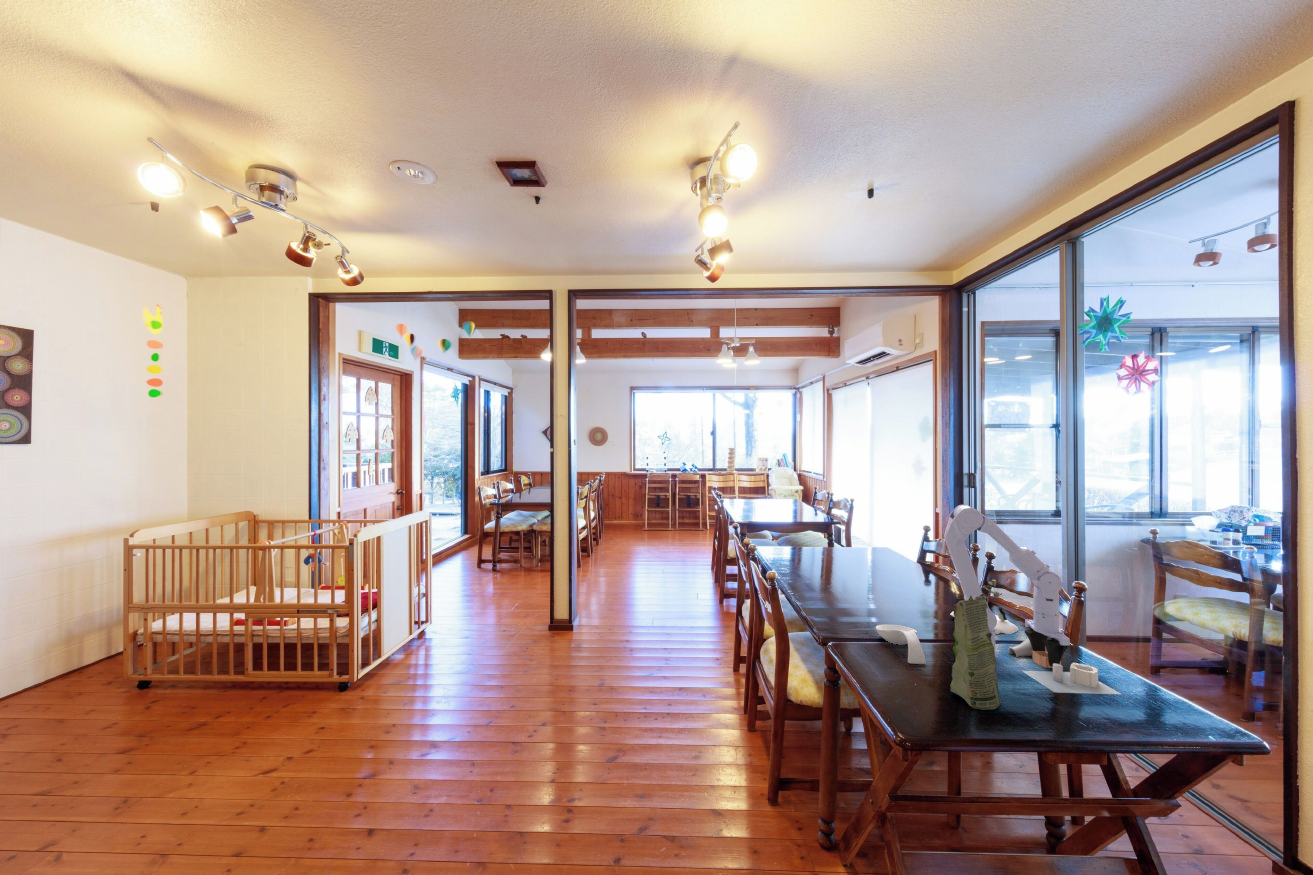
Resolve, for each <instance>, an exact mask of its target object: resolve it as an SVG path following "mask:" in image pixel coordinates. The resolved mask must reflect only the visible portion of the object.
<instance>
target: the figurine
mask: <svg viewBox="0 0 1313 875" xmlns="http://www.w3.org/2000/svg"><path fill="white" fill-rule="evenodd" d="M996 585H997V580H996V579H991V580H990V581H989V580H988V581H987V585H986V584H984V585H983V586H982V588H983V589H984V590H986V591H987V592H988V595H987V596H986V597H985V600H986V602H987V604H989V600H990V598H992V599H993V598H997V599H998V598H1000V597H1001V596H1002V595H1003V594H1002V593H1000V592H999V591H997V590H995V591H993V590H992V587H996ZM991 595H992V596H991ZM949 614H950V616H952V617H954V610H953V611H952V612H950V613H949ZM995 616H996V618H997V624H996V626H995V635H1000V634H1006V635H1012V634H1013V635H1014V633H1016V632H1018V631H1019V628H1018V626H1016V624H1014V623H1012V622H1010V621H1009V620H1008V619H1007V617H1006V612H1005V611H1004V610H1003V608H1002V607H998V611H997V614H995Z"/></svg>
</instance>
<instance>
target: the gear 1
mask: <svg viewBox="0 0 1313 875" xmlns="http://www.w3.org/2000/svg"><path fill="white" fill-rule="evenodd" d="M1032 653H1033V656H1032V662H1033V663H1035V664H1036V665H1038V666H1040V667H1042V668H1046V669H1053V667H1052V666H1050V665H1049V662H1048V653H1047V652H1045V651H1033V652H1032ZM1060 665H1062V660H1061V661H1060Z"/></svg>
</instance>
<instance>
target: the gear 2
mask: <svg viewBox="0 0 1313 875" xmlns="http://www.w3.org/2000/svg"><path fill="white" fill-rule="evenodd" d="M1079 664H1080V663H1077V662H1072V663H1071V664H1070V667H1069V672H1070V681H1072V682H1076V683H1078V684H1082V685H1085V686H1091V687H1096V686H1097V685H1098V681H1099V669H1098V668H1096V667H1093V666H1092V665H1087V664H1086V665H1087V666H1089V671H1085V670H1082V669H1079ZM1082 664H1083V663H1082ZM1083 665H1085V663H1084V664H1083Z"/></svg>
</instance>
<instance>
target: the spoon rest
mask: <svg viewBox="0 0 1313 875" xmlns="http://www.w3.org/2000/svg"><path fill="white" fill-rule="evenodd" d="M875 630H876V632H877V634H878V635H879V636H880V637H881V638H882V639H883V640H885V641H886V642H887V641H888V642H887V643H889V642H890V643H889V644H891V643H893V644H892V645H896V644H898V645H897V646H906V645H907V647H908V649H907V663H908V664H911V665H912V664H914V665H915V664H917V665H925V664H926V663H927V662H926V657H925V653H924V649H923V647H922V644H921V642H920V639H919V637H918V631H917V630H916V629H914V628H912V627H909V626H904V625H900V624H899V625H898V624H878V625H876V626H875ZM905 644H906V645H905Z"/></svg>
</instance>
